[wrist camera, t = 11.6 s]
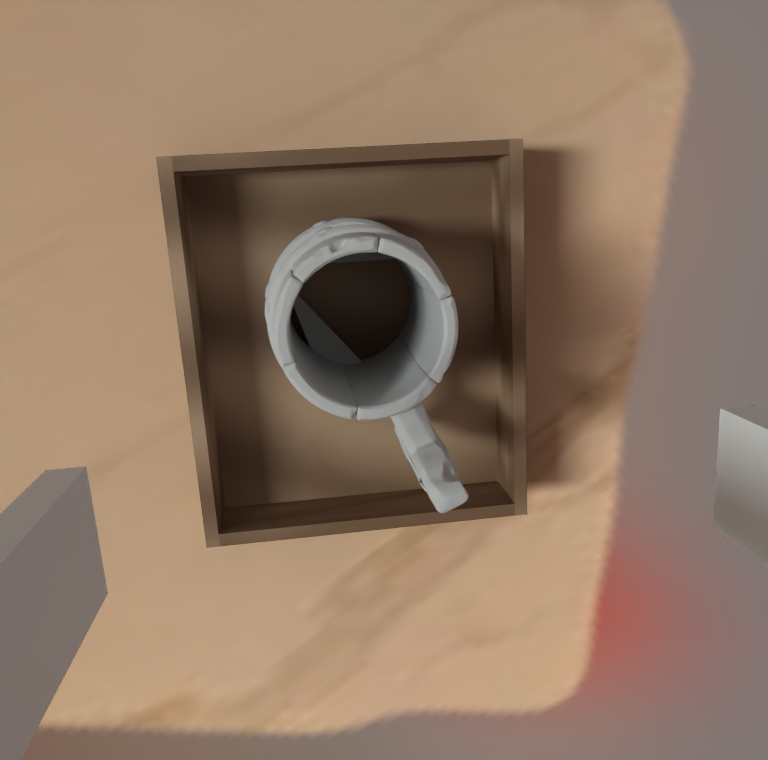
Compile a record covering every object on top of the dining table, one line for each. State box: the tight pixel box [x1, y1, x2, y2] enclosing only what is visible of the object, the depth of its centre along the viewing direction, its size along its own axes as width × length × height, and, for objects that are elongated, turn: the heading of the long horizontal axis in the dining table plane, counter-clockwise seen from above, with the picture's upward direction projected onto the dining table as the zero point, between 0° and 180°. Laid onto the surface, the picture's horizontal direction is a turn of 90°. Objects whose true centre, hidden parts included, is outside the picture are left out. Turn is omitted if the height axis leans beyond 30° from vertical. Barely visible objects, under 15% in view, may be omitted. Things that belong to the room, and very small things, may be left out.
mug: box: [265, 217, 469, 513], centre depth 27 cm, size 8×12×12 cm, turn 26°
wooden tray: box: [156, 139, 527, 548], centre depth 32 cm, size 17×15×4 cm
